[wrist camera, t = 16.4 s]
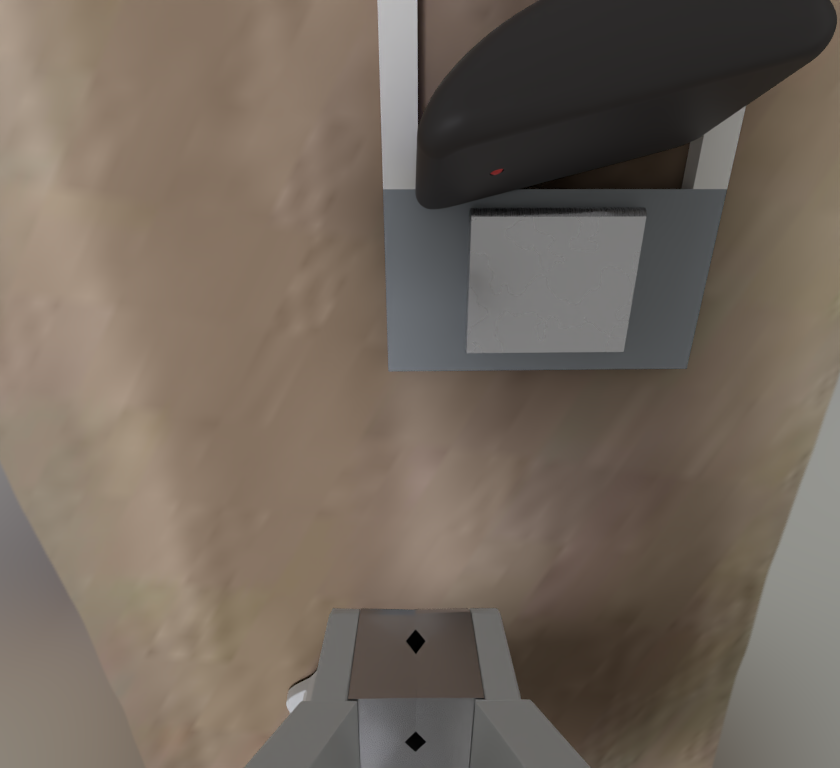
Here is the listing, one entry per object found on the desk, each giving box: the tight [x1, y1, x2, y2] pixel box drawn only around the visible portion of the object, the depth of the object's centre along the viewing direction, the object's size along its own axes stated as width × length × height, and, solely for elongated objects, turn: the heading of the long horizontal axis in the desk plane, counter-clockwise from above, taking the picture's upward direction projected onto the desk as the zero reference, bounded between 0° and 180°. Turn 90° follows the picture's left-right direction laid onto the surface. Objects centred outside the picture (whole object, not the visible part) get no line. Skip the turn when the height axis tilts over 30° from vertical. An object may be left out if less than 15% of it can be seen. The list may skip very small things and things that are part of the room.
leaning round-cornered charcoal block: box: [415, 0, 837, 209], centre depth 20 cm, size 16×5×10 cm, turn 104°
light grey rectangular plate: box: [465, 207, 647, 353], centre depth 26 cm, size 8×10×1 cm
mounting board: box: [378, 0, 746, 371], centre depth 25 cm, size 22×20×1 cm
